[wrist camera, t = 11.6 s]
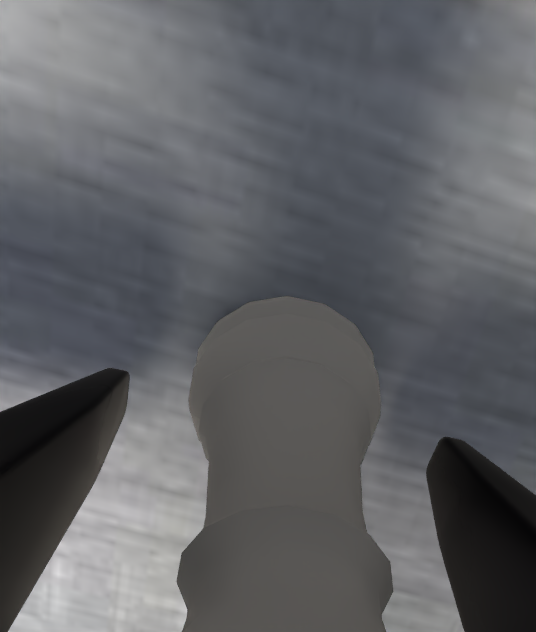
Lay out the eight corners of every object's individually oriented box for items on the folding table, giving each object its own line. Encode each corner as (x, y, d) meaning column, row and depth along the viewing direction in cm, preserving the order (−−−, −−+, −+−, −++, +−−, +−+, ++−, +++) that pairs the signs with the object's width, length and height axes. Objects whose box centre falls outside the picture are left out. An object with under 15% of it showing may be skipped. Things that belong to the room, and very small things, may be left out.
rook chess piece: (201, 439, 11) (48, 981, 4) (192, 287, 10) (-107, 739, 2) (363, 445, 11) (516, 1018, 4) (382, 291, 10) (720, 783, 2)
